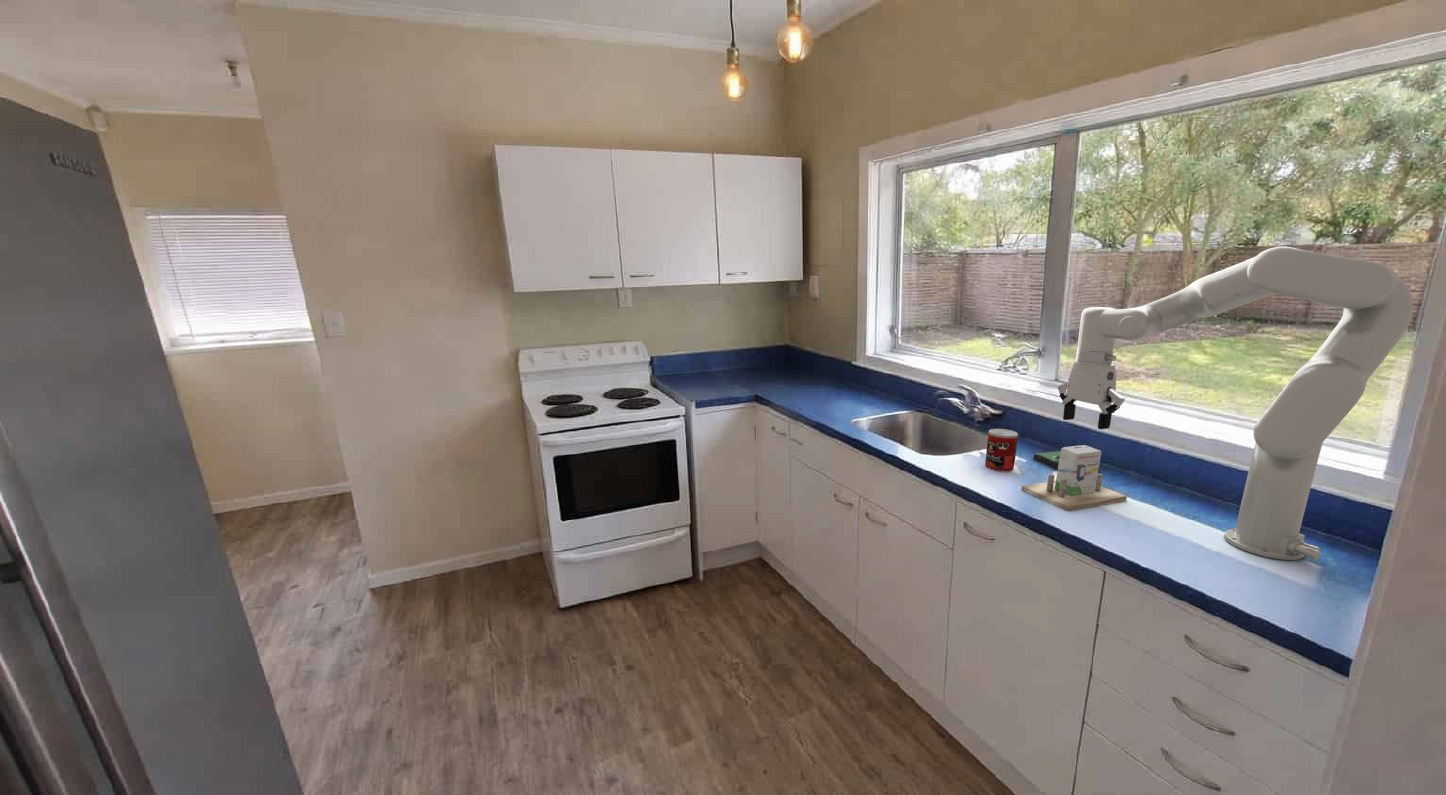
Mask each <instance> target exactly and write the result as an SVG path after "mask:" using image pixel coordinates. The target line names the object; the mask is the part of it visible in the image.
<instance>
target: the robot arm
mask: <svg viewBox="0 0 1446 795" xmlns="http://www.w3.org/2000/svg"><path fill="white" fill-rule="evenodd" d="M1276 294H1277V295H1280V296H1284V297H1289V298H1295V299H1298V300H1303V301H1308V302H1314V303H1318V304H1321V305H1322V304H1323V305H1327V306H1332V307H1336V308H1341V309H1343V311H1342V312H1343V313H1342V315H1341V319H1340V320H1339V322H1338V323H1337V324H1336V326H1335V327H1334V328H1333V330H1332V331H1331V332H1330V334H1329V335H1328V337H1327V338H1326V339H1325V341H1324V342H1323V343H1322V345H1321V346H1320V347H1319V348H1318V350H1316V352H1315V353H1314V354H1313V355H1312V357H1310V359H1309V360H1308V361H1307V362H1305V363H1304V364H1303V365H1302V366H1301V367H1300V368H1299V369H1298V370H1297V371H1296V372H1295V373H1294V374H1293V376H1292V377H1291V379H1290V380H1289V381H1288V382H1287V384H1285V386H1284V387H1283V389H1282V390H1281V391H1280V392H1279V394H1278V395H1277V396H1276V398H1275V399H1274V400H1273V402H1272V403H1271V404H1270V405H1269V407H1268V408H1267V410H1265V412H1264V413H1263V414H1262V415H1261V416H1260V418H1259V419H1258V421H1256V424H1255V425H1254V427H1253V438H1254V441H1255V443H1254V444H1255V445H1254V448H1253V450H1252V451H1253V452H1252V455H1251V460H1250V465H1249V468H1248V472H1247V478H1246V481H1245V484H1244V490H1243V493H1242V494H1243V495H1242V498H1241V503H1240V507H1239V512H1238V515H1237V520H1236V524H1235V528H1230V529H1226V530H1225V531H1224V537H1223V538H1224V539H1225V540H1226V542H1228V543H1229V544H1231V545H1232V546H1235V547H1236V548H1238V549H1241V550H1242V551H1246V552H1248V553H1251V554H1254V555H1257V556H1261V557H1266V558H1270V559H1276V560H1282V561H1298V560H1301V559H1303V558H1304V557H1307V558H1309V559H1313V560H1315V561H1316V560H1317V561H1318V560H1319V559H1320V558H1321V554H1322V552H1321V548H1320V547H1319V546H1315V545H1313V544H1309V543H1307V542H1306V541H1305V537H1306V535H1305V534H1302V533H1300V531H1301V526H1302V522H1303V519H1304V515H1305V511H1306V507H1307V502H1308V499H1309V496H1310V492H1311V487H1312V485H1313V481H1314V477H1315V473H1316V468H1317V465H1318V461H1319V458H1320V454H1321V451H1322V448H1323V447H1322V446H1323V443H1324V442H1325V440H1327V438H1328V437H1329V436H1330V435H1331V434H1332V433H1333V431H1334V430H1335V429H1336V428H1337V427H1338V426H1339V425H1340V423H1341V422H1342V421H1343V419H1345V417H1346V416H1347V415H1348V414H1349V412H1351V411H1352V409H1353V408H1354V407H1355V406H1356V404H1357V403H1358V402H1359V401H1360V399H1361V398H1362V396H1363V395H1364V393H1365V390H1366V386H1367V382H1368V381H1369V379H1370V378H1371V376H1372V375H1373V374H1374V373H1375V371H1376V370H1377V369H1378V368H1379V366H1380V365H1381V364H1382V363H1383V361H1385V359H1386V358H1387V356H1388V355H1389V354H1390V353H1391V351H1392V350H1393V349H1394V347H1395V346H1396V345H1397V344H1398V342H1399V341H1400V340H1401V338H1402V337H1403V335H1404V334H1405V332H1406V331H1407V329H1408V327H1409V325H1410V323H1411V320H1412V317H1413V310H1414V309H1413V308H1414V306H1413V304H1414V303H1413V297H1412V293H1411V291H1410V289H1409V287H1408V286H1407V284H1406V283H1405V282H1404V281H1403V279H1402V278H1401V276H1399V275H1398V274H1397V273H1396V272H1395V271H1394V270H1392V269H1391V268H1390V267H1389V266H1387V265H1386V264H1383V263H1381V262H1377V261H1371V260H1363V259H1359V258H1352V257H1351V258H1350V257H1345V256H1339V255H1332V254H1328V253H1327V254H1326V253H1322V252H1314V251H1310V250H1304V249H1300V248H1296V247H1291V246H1275V247H1271V248H1268V249H1265V250H1263V251H1262V252H1259V253H1258V254H1257V255H1255V256H1254V257H1251V258H1248V259H1246V260H1244V261H1242V262H1239V263H1236V264H1234V265H1231V266H1228V267H1226V268H1224V269H1220V270H1219V271H1216V272H1213V273H1211V274H1207V275H1206V276H1203V277H1200V278H1199V279H1196V280H1195V281H1193V282H1192V283H1190V284H1189V285H1188V286H1186V287H1184V288H1183V289H1180V290H1178V291H1176V292H1175V293H1172V294H1169V295H1166V296H1165V297H1162V298H1159V299H1157V300H1155V301H1152V302H1149V303H1146V304H1144V305H1140V306H1136V307H1130V308H1119V309H1116V308H1114V307H1109V306H1108V307H1107V306H1104V307H1103V306H1091V307H1086V308H1084V309H1083V310H1082V312H1081V316H1080V324H1079V331H1078V332H1079V333H1078V340H1077V346H1076V347H1077V349H1076V357H1075V360H1074V361H1073V363H1072V366H1071V369H1070V372H1069V375H1068V379H1067V380H1068V381H1067V382H1066V383H1063V384H1060V385H1058V386H1057V390H1058V392H1059V397H1060V399H1061V401H1062V402H1061V403H1062V405H1064V407H1063V417H1062V419H1063V420H1064V421H1069V420H1074V419H1075V415H1076V407H1077V406H1076V404H1075V403H1076V402H1077V401H1078V402H1083V403H1087V404H1091V405H1097V406H1098V408H1099V409H1100V411H1101V413H1099V414H1098V422H1097V429H1098V430H1106V429H1110V428H1111V427H1110V426H1111V423H1112V414H1114V413H1115V412H1117V410H1119V409H1120V408H1121V406H1122V405H1123V403H1124V402H1125V400H1126V398H1124V396H1122V395H1121V394H1120V393H1118V392H1117V391H1116V389H1117V371H1116V365H1115V364H1113V361H1116V360H1117V356H1116V355H1114V350H1115V349H1114V348H1115V340H1116V339H1119V340H1124V341H1125V340H1126V341H1138V340H1141V339H1144V338H1148V337H1151V336H1154V335H1158V334H1160V333H1162V332H1165V331H1168V330H1171V329H1174V328H1176V327H1179V326H1181V325H1185V324H1188V323H1191V322H1194V321H1197V320H1200V319H1205V318H1210V317H1214V316H1216V315H1219V314H1221V313H1222V314H1223V313H1224V312H1228V311H1230V310H1233V309H1236V308H1238V307H1242V306H1244V305H1248V304H1250V303H1253V302H1256V301H1259V300H1261V299H1264V298H1268V297H1270V296H1273V295H1276Z"/></svg>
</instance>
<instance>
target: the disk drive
mask: <svg viewBox="0 0 1446 795" xmlns="http://www.w3.org/2000/svg"><path fill="white" fill-rule="evenodd" d="M1060 454H1061V450H1056V451H1045V452H1035V453H1034V454H1033V460H1035V461H1037V462H1038V463H1041V464H1043V465H1046V466H1047V467H1049V468H1052V469H1053V470H1056V471H1058V465H1059V459H1060ZM1100 468H1101V467H1100V465H1099V469H1098V473H1099V474H1100Z"/></svg>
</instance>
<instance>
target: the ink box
mask: <svg viewBox="0 0 1446 795" xmlns="http://www.w3.org/2000/svg"><path fill="white" fill-rule="evenodd" d="M1060 451H1061V454H1060V459H1059V465H1058V470H1056V471H1057V472H1056V476H1055V477H1056V478H1055V481H1056V483H1055V490H1057V491H1059V487H1060V480H1061V479H1065V480H1067V484H1066V490H1065V494H1066V495H1068V496H1074V495H1080V494H1086V493H1091V492H1095V486H1096V480H1097V475H1098V469H1099V466H1100V461H1101V457H1102V450H1100V449H1097V448H1094V447H1092V446H1089V445H1085V444H1083V445H1073V446H1064V447H1062V448H1061V449H1060ZM1099 470H1100V469H1099Z"/></svg>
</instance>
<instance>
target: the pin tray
mask: <svg viewBox="0 0 1446 795" xmlns="http://www.w3.org/2000/svg"><path fill="white" fill-rule="evenodd" d="M1055 477H1056V475H1055V474H1051V473H1049V474H1048V475H1047V481H1045V482H1040V483H1032V484H1026V485H1022V486H1021V491H1022V490H1023V492H1025V493H1027V494H1030V495H1032V496H1034V497H1035V498H1038V499H1040V500H1042V499H1044V500H1046V501H1045V502H1047V501H1048V502H1047V503H1049V502H1050V503H1049V504H1051V503H1052V504H1051V505H1053V504H1054V505H1053V506H1055V505H1057V506H1056V507H1058V508H1060V507H1061V508H1060V509H1063V510H1064V511H1067V512H1068V511H1074V510H1080V509H1086V508H1087V509H1088V508H1092V507H1096V506H1097V507H1098V506H1102V505H1108V504H1113V503H1119V502H1125V501H1127V498H1128V496H1127V495H1125V494H1122V493H1119V492H1118V491H1114V490H1111V489H1109V488H1106V487H1104V486H1102V484H1103V482H1102V481H1103V474H1102V473H1099V474H1098V475H1097V480H1096V486H1095V492H1091V493H1086V494H1080V495H1074V496H1068V495H1066V494H1065V490H1066V484H1067V480H1065V479H1061V480H1060V487H1059V491H1057V490H1055V483H1056V480H1055ZM1044 500H1043V501H1044Z"/></svg>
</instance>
